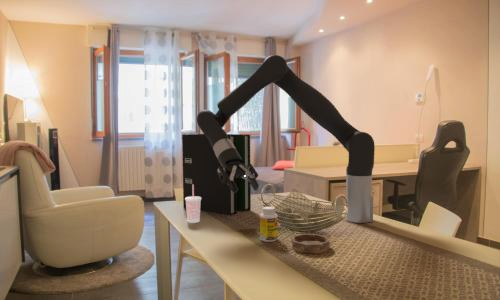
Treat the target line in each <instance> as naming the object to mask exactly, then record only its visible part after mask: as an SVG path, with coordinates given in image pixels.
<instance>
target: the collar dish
mask: <svg viewBox="0 0 500 300" xmlns="http://www.w3.org/2000/svg"><path fill="white" fill-rule="evenodd" d="M329 247H330V239H329V238H328V236H325V235H321V234H317V233H316V234H315V233H299V234H296V235H294V236H291V249H292V250H293V251H295V252H297V253H300V254H305V255H318V254H325V253H326V252H328V251H330V250H329V249H330V248H329Z"/></svg>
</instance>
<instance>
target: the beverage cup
mask: <svg viewBox="0 0 500 300" xmlns="http://www.w3.org/2000/svg"><path fill="white" fill-rule="evenodd" d="M192 194H193V196H190V197H186V198H185V201H186V208H185V209H186V220H187V223H189V224H196V223H199V222H200V221H201V210H200V204H201V197H199V196H194V184H192Z"/></svg>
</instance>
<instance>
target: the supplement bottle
mask: <svg viewBox="0 0 500 300" xmlns="http://www.w3.org/2000/svg"><path fill="white" fill-rule="evenodd" d="M278 219H279V217H278V214H277V213H276V208H275V206H263V207H262V212H261V213H260V214H259V239H260V241H262V242H266V243H272V242H276V241H277V240H278V229H279V228H278V226H279V224H278V221H279V220H278Z"/></svg>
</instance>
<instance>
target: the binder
mask: <svg viewBox="0 0 500 300" xmlns="http://www.w3.org/2000/svg"><path fill="white" fill-rule="evenodd" d="M226 134H227V135H228V137H229V139H230V140H231V142H232V143H233V144H234V146H235V148H236V150H237V151H238V153H239V155H240V157H241V158H242V163H243V164H244V165H248V164H249V163H250V164H251V134H234V133H233V134H231V133H229V134H228V133H226ZM181 137H182V139H181V142H182V144H181V146H182V148H181V149H182V191H183V193H182V194H183V200H182V201H183V208H185V209H186V201H185V198H186V197H190V196H193V194H192V184H194V196H199V197H201V204H200V212H202V211H203V212H206V213H207V212H208V213H211V214H212V213H213V214H217V213H218V214H219V215H223V214H224V216H228V215H230V216H229V217H231V216H232V215H237V214H238V211H239V212H244V213H246V211H251V210H252V209H251V208H252V206H251V205H252V204H251V203H252V201H251V197H252V196H251V194H252V193H251V189H252V188H251V187H252V186H251V184H250V182H249V181H248V180H247V179H243V178H233V181H234V182H235V184H236V185H237V187H238V191H237V193H234V192H232V190H231V188H230V187H229V185H228V184H226V183H225V184H222V182H221V180H220V178H219V176H218V173H217V170H218V168H219V166H221V164H220V163H219V161H218V159H217V157H216V155H215V152H214V150H213V148H212V146H211V144H210V142H209V140H208V138H207V137H206V136H205V134H204V133H197V134H195V133H193V134H191V133H190V134H182V135H181ZM225 173H226V172H225ZM244 175H246V172H245V174H244ZM226 176H227V178H228V174H227V173H226ZM248 177H249V178H251V177H250V176H248Z"/></svg>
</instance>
